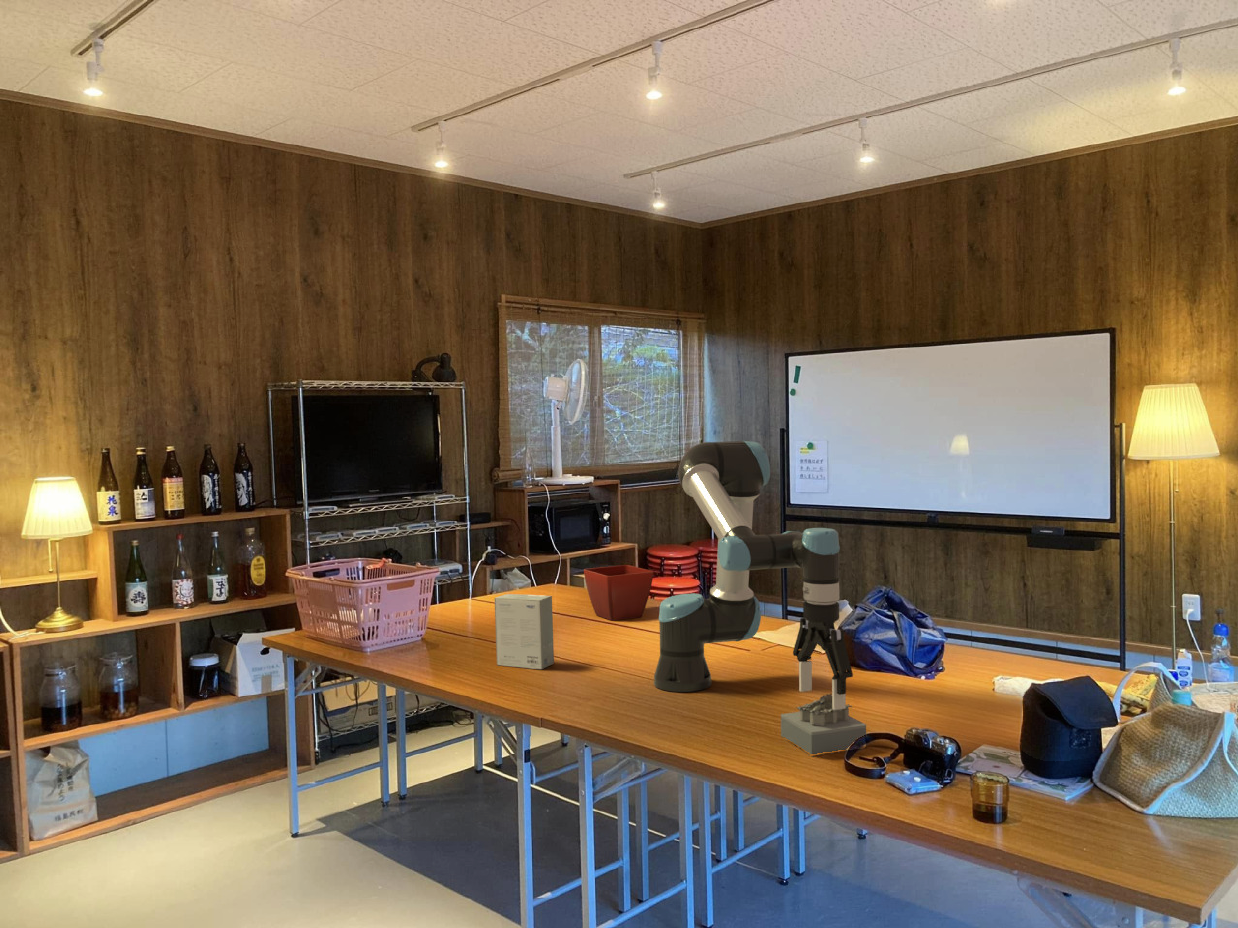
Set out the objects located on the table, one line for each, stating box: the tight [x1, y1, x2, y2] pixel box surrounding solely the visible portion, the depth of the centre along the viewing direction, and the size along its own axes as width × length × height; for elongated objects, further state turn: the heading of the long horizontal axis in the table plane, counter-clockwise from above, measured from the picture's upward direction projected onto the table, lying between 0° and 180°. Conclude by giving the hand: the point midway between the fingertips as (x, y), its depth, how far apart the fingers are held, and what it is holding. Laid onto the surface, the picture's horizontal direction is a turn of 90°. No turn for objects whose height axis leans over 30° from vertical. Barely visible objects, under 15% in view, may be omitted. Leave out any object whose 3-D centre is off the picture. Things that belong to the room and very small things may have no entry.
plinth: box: [780, 711, 867, 754], centre depth 200 cm, size 13×13×5 cm
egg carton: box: [796, 693, 853, 726], centre depth 200 cm, size 11×8×4 cm
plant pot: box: [583, 564, 654, 622], centre depth 337 cm, size 19×19×17 cm
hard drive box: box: [494, 593, 555, 670], centre depth 271 cm, size 16×8×20 cm, turn 65°
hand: (821, 699), depth 200 cm, fingers open, 13 cm apart
